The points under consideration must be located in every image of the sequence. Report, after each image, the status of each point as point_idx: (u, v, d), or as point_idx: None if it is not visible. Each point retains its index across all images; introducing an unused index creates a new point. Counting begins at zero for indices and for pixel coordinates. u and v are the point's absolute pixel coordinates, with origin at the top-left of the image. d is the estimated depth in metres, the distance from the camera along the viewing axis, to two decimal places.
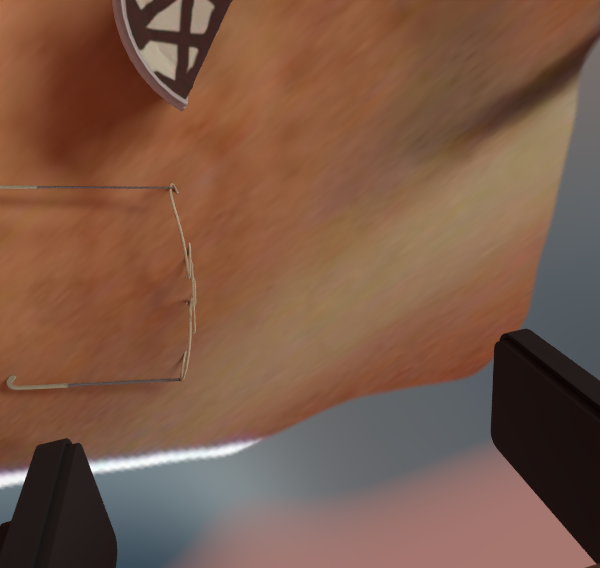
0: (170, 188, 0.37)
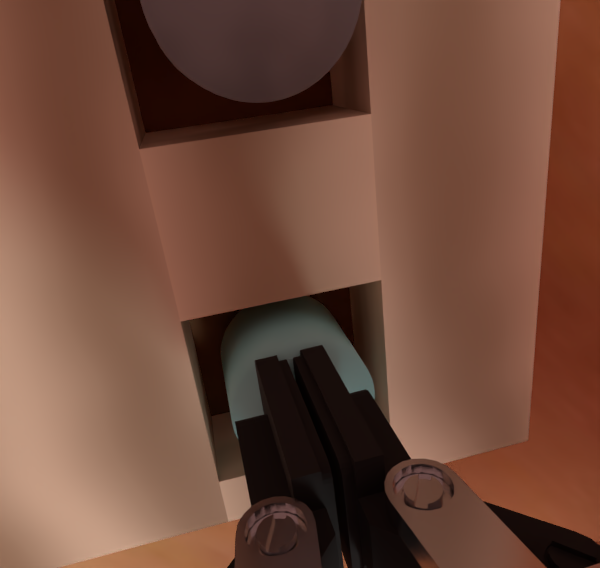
0: None
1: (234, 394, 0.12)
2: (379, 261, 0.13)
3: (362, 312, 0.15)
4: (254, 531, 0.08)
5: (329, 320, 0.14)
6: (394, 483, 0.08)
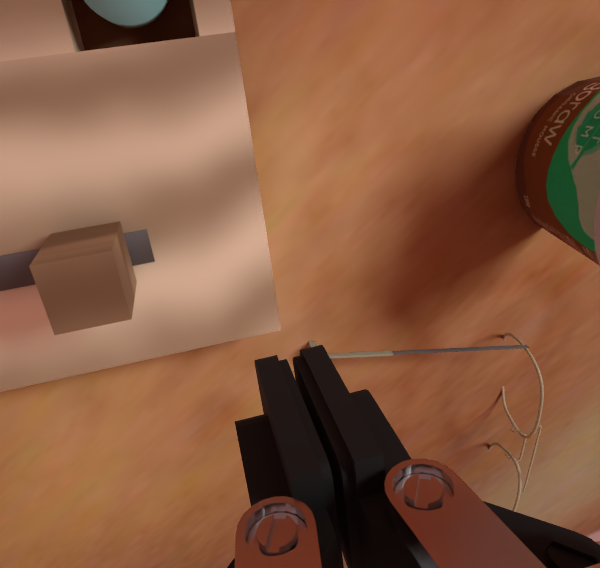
0: (526, 347, 0.33)
1: (111, 21, 0.20)
2: None
3: None
4: (254, 531, 0.08)
5: None
6: (394, 483, 0.08)
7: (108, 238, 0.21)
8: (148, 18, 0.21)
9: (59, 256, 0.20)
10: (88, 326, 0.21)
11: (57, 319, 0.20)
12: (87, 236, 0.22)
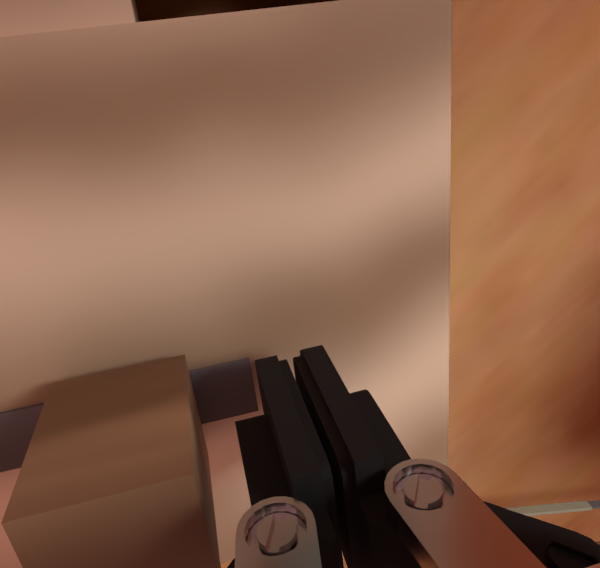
0: None
1: None
2: None
3: None
4: (254, 531, 0.08)
5: None
6: (394, 483, 0.08)
7: (174, 418, 0.10)
8: None
9: (72, 484, 0.09)
10: None
11: None
12: (126, 402, 0.11)
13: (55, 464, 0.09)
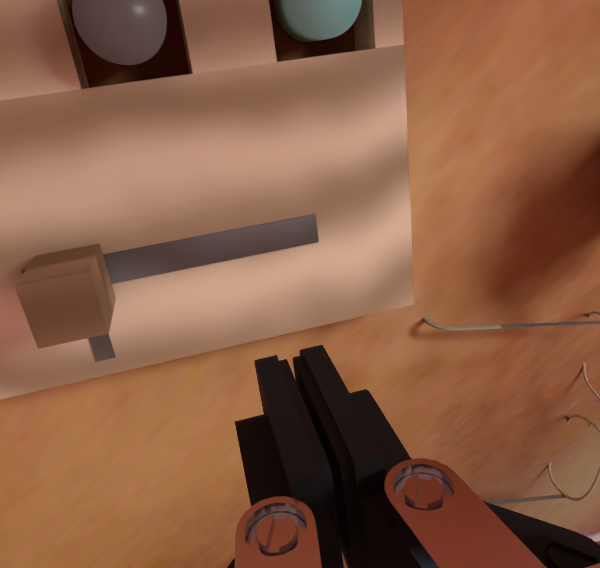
0: None
1: (311, 36, 0.24)
2: None
3: None
4: (254, 531, 0.08)
5: None
6: (394, 483, 0.08)
7: (87, 260, 0.23)
8: (340, 33, 0.25)
9: (42, 277, 0.22)
10: (69, 340, 0.23)
11: (40, 334, 0.23)
12: (68, 258, 0.24)
13: (35, 274, 0.23)
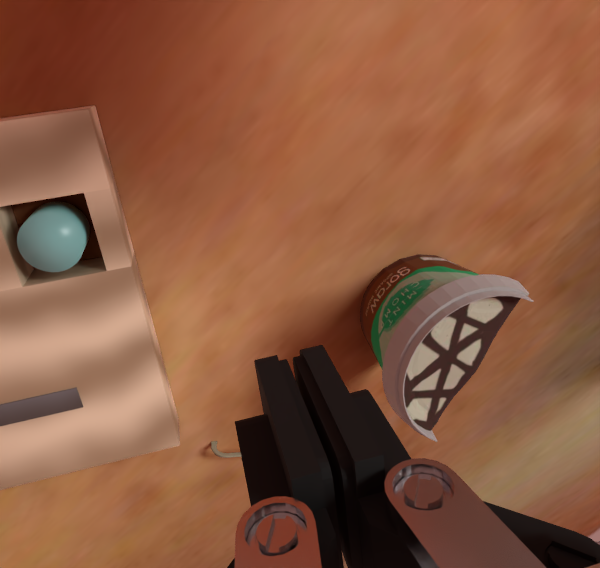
0: None
1: (45, 270, 0.31)
2: None
3: None
4: (254, 531, 0.08)
5: None
6: (394, 483, 0.08)
7: None
8: (70, 267, 0.32)
9: None
10: None
11: None
12: None
13: None
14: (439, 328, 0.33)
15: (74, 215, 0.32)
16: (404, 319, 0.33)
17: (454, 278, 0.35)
